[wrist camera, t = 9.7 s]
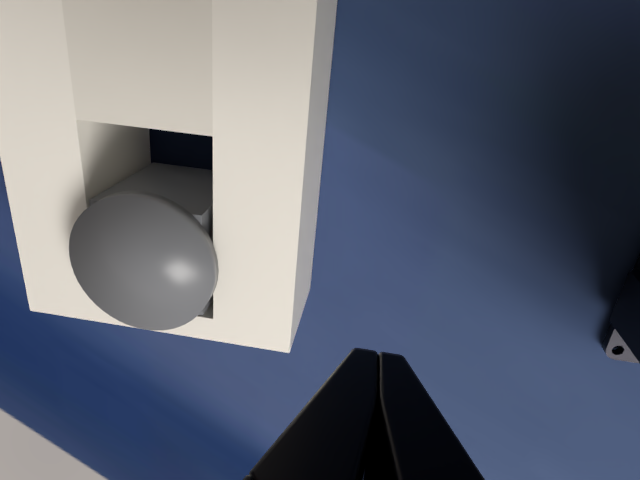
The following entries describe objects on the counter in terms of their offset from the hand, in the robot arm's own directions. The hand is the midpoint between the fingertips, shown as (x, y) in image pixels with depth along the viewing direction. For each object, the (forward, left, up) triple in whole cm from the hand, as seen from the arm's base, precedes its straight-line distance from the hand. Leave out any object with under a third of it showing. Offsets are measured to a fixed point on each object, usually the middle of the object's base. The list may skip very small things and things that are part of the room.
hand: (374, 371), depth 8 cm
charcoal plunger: (+8, +3, -13) cm, 15 cm away
